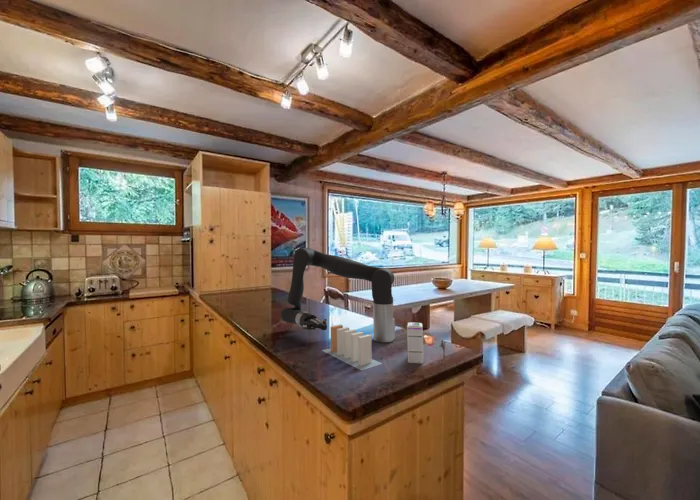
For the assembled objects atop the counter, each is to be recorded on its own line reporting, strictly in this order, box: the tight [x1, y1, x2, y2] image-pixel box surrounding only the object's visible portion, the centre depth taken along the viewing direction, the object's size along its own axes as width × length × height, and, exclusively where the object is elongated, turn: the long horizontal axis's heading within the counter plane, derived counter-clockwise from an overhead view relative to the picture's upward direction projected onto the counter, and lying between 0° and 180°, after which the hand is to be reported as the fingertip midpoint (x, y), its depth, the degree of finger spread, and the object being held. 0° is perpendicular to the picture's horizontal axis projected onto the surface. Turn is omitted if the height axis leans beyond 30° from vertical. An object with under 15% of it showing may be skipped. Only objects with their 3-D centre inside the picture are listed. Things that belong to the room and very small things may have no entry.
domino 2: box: [337, 326, 350, 355], centre depth 121 cm, size 5×2×10 cm, turn 127°
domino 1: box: [330, 324, 344, 352], centre depth 125 cm, size 5×2×10 cm, turn 128°
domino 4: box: [351, 331, 365, 362], centre depth 114 cm, size 5×2×10 cm, turn 127°
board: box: [321, 347, 383, 371], centre depth 118 cm, size 10×26×1 cm, turn 37°
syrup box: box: [406, 321, 425, 364], centre depth 113 cm, size 6×6×14 cm
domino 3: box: [344, 328, 357, 359], centre depth 118 cm, size 5×2×10 cm, turn 127°
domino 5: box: [358, 334, 373, 366], centre depth 110 cm, size 5×2×10 cm, turn 127°
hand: (325, 327), depth 132 cm, fingers closed
